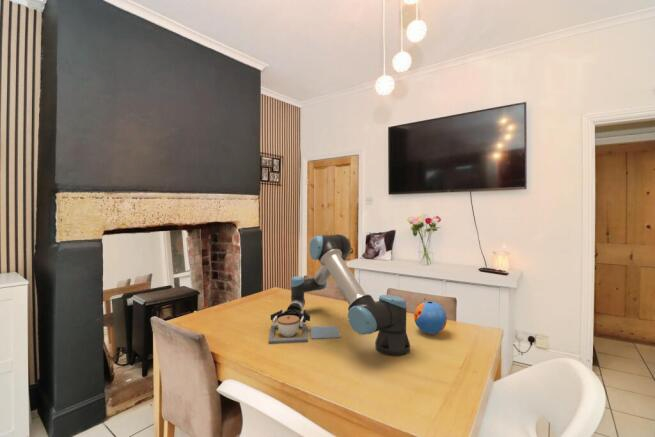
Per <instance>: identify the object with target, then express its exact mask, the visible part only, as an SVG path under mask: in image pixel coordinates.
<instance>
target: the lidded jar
mask: <svg viewBox="0 0 655 437" xmlns="http://www.w3.org/2000/svg"><path fill="white" fill-rule="evenodd" d="M276 323H277V325H278V329H277V330H278V331H279V333H280V335H281V336H283V337H284V338H292V337H293V336H294V337H295V334H296V333H297V332H298V330H299V329H300V328H299V324H300V319H299V317H297V316H293V315H286V316H282V317H279V318H278V319H277V322H276Z"/></svg>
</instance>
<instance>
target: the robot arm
mask: <svg viewBox="0 0 655 437" xmlns="http://www.w3.org/2000/svg"><path fill="white" fill-rule="evenodd" d="M308 249H309V255H310V257H311V259H312V260H314V261H318V262H319V263H320V264H321V266H320V268H318V270H317V271H316V273H315V275H314V276H312V277H311V278H304V276H302V275H298V276H292V278H291V279H290V290H291V292H290V295H291V296H290V300H291V301H290V303H289V305H288V307H287V309H285V310H283V309H280V310H279V311H276V312H274V313H272V314H270V321H272V325H273V326H274V325H277V323H278V322H277V319H278V318H279V317H282V316H286V315H293V316H297V317H299V324H300V327H302V325H303V324H306V322H307V321H308V322H310V321H311V315H310V314H309V313H308V312H307V311H306V310H305V309H304V310H303V308H304V307H305V304H306V299H305V293H309V292H315V291H321V290H324V289H326V288H327V281H328V279H330V277H332V279H333V280H334V282H335V284H336V285H337V286H338V289H339V290H340V292H341V294H342V295H343V297H344V299H345V300H346V302H347V304H348V308H347V310H348V312H347V319H348V323H349V325H350V327H351V329H352V330H353V331H354V332H355V333H357V334H359V335H371V334H373V333H376V332H378V334H377V336H376V339H375V343H374V348H375V350H376V351H377V352H378V353H380V354H382V355H386V356H390V357H400V356H401V357H402V356H406V355H407V354H409V353H410V352H411V344H410V340H409V336H408V334H407V308H408V307H407V301H406V298H403V297H400V296H398V295H397V296H396V295H392V294H382V295H381V294H380V295H379V298H378V301H376V300H375V299H374V298H373V297H372V295H371V294H367V293H365V291H364V289H363V288H362V286H361V284H360V283H359V282H358V280H357V278H356V277H355V276H354V274H353V272H352V271H351V269H350V268H349V266H348V265H347V263H346V262H345V261H346V260H347V259H348V258H349V257H350V256H349V255H350V254H351V252H352V245H351V242H350V240H349V238H347V237H346V235H343V234H325V235H322V234H321V235H315V236H313V237H312V239H311V240H310V243H309V248H308Z"/></svg>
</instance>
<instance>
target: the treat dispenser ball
mask: <svg viewBox="0 0 655 437" xmlns="http://www.w3.org/2000/svg"><path fill="white" fill-rule="evenodd" d="M413 315H414V316H413V318H414V323H415V325H416V326H417V328H418V329H419V330H420V331H422V332H423V333H425V334H427V335H436V334H439V333H441V332H442V331H443V330H444V329H445V328H446V325H447V322H448V321H447V320H448V319H447V312H446V310H445V309H444V307H443V306H442V305H441V304H439V303H437V302H435V301H424V302H422V303H420V304H419V305H417V306H416V308H415V310H414V314H413Z"/></svg>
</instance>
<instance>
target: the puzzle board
mask: <svg viewBox="0 0 655 437" xmlns="http://www.w3.org/2000/svg"><path fill="white" fill-rule="evenodd" d="M298 329H302V336H300V337H299V336H297V337H295V336H294V337H293V336H292V337H277V338H275V332H276V330H279V329H278V324H275V325H274V326H273V324H271V325H270V332H269V334H268V335H269V336H268V342H267V343H268V345H272V344H292V343H293V344H294V343H308V342H309V339H308V329H307V323H303V325H302V327H300V323H299V328H298Z"/></svg>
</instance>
